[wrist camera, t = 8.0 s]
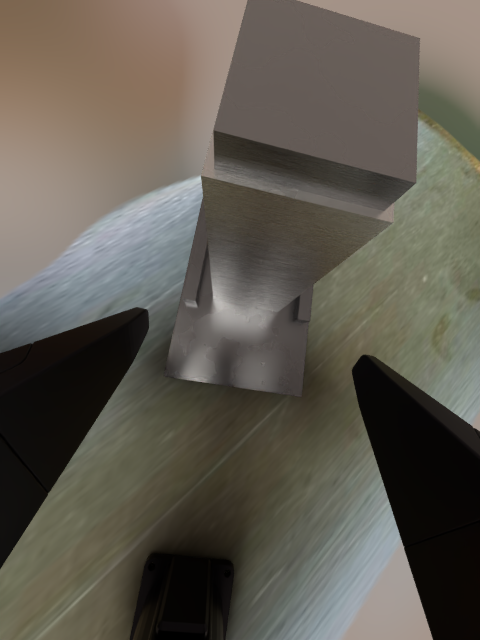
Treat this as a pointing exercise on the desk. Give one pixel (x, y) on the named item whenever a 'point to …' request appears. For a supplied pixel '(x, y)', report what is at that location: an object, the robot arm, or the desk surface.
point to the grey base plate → (236, 334)
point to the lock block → (306, 148)
